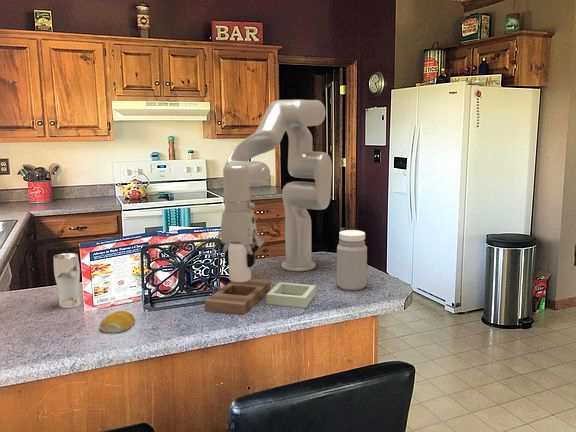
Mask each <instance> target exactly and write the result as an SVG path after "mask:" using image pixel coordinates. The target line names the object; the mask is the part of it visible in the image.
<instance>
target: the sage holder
mask: <svg viewBox="0 0 576 432" xmlns="http://www.w3.org/2000/svg"><path fill="white" fill-rule="evenodd" d="M265 296H266V298H265V299H266V305H273V306H284V307H293V308H301V309H306V308H307V307H308V306H309V304H310V303H312V300H313V299H314V298H315V297H316V296H317V285H314V284H313V285H312V284H304V283H303V284H302V283H292V282H291V283H290V282H281V281H280V282H278V283H277V284H276V285H274V287H273V288H271V290H270V291H269V292H268V293H267V294H266V295H265Z"/></svg>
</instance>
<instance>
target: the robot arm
mask: <svg viewBox="0 0 576 432" xmlns="http://www.w3.org/2000/svg"><path fill="white" fill-rule="evenodd" d="M325 117H326V107H325V105H324V104H323V102H322V101H320V100H318V99H278V100H274V101H272V102H271V103H270V104H269V105H268V106H267V108H266V111H265V112H264V114H263V116H262V118H261V119H260V123H259V124H258V126H257V128H256V130H255V132H254V133H252V134H251V135H248V136H247V137H246V138H245V139H244V140H242V141H240V142H239V143H238V144H237V145H236V146H234V148H232V150H231V152H230V154H229V156H228V158H227V159H226V162H225V165H224V166H223V169H222V171H223V172H222V173H223V174H222V175H223V176H222V177H223V199H224V200H223V202H224V210H223V211H222V215H221V222H220V223H221V225H220V232H219V233H218V234H217V235H216V237H219V238H221V240H222V242H221V248H220V249H221V250H222V252H223V253H224V255H223V256H224V263H225V266H227V267H229V259H228V246H229V244H230V243H236V244H239V243H242V245H246V248H247V250H248V252H249V254H248V255H247V264H248V267H251V268H252V267H253V266H254V264H255V261H256V260H255V255H256V254H255V253H256V252H257V251H258V250H259V249H260V247H262V246H263V245H264V243H265V240H264V239H263V238H262V237H261V236H260V235H259V234H258V231H257V222H256V216H255V211H254V210H253V209H254V208H255V207H256V203H254V202H252V200H251V194H250V193H251V190H250V189H251V188H250V187H252V188H253V187H254V188H255V187H262V186H264V185H266V184H267V183H268V182H269V180H270V177H271V170H270V167H269V166H268V164H266V163H265V162H262V161H253V160H252V161H251V159H253V158H255V157H257V156H259V155H262V154H265V153H268V152H270V151H273V150H274V149H276V148H278V147H279V145H280V143H281V142H282V140H283V137H284V134H287V136H288V137H287V139H288V151H287V152H288V153H287V154H288V157H287V171H288V173H289V175H290V176H291V177H294V178H300V179H313V180H314V182H311V181H291V182H287V183H286V184H285V185H284V186H283V188H282V192H281V195H282V196H281V197H282V202H283V208H284V220H285V221H284V223H285V224H284V225H285V226H284V227H285V231H284V232H285V233H284V234H285V237H284V239H285V240H284V241H285V245H284V246H285V261H283V262H281V266H280V267H281V268H282V269H283V270H285V271H289V272H305V271H311V270H314V269H315V268H316V267H317V266H316V262H315V261H312V219H311V216H310V213H309V211H308V210H319V211H321V210H326V209H327V208H328V207H329V205H330V202H331V195H332V194H331V193H332V175H333V163H332V160H331V159H332V158H331V156H330V155H329V154H328V153H327V152H323V151H313V135H312V133H311V131H310V130H309V128H308V127H314V126H320V125H321V124H322V123H323V122H324V120H325ZM252 208H253V209H252ZM254 243H256V244H255V245H254Z"/></svg>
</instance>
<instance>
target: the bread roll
mask: <svg viewBox="0 0 576 432" xmlns="http://www.w3.org/2000/svg"><path fill="white" fill-rule="evenodd" d="M135 323H136V319H135V316H133V313H130V312H129V311H126V310H119V311H114V312H112V313H110V314H108V315H107V316H105V317H104V318H103V319H102V320H101V322H100V323H99V329H100V331H101V332H103V333H107V334H119V333H123V332H126V331H127V330H129V329H130V328H131V327H132V326H133V325H134V324H135Z"/></svg>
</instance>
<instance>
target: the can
mask: <svg viewBox="0 0 576 432" xmlns="http://www.w3.org/2000/svg"><path fill="white" fill-rule="evenodd" d="M248 254H249V252H248V250H247V248H246V245H242V243H239V244H236V243H230V244H229V246H228V259H229V265H228V277H229V278H228V279H229V280H230V282H231V281H232V282H235V283H243V282H247V281H249V280H252V279H251V278H252V271H251V269H252V266H251V267H248V264H247V255H248Z"/></svg>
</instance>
